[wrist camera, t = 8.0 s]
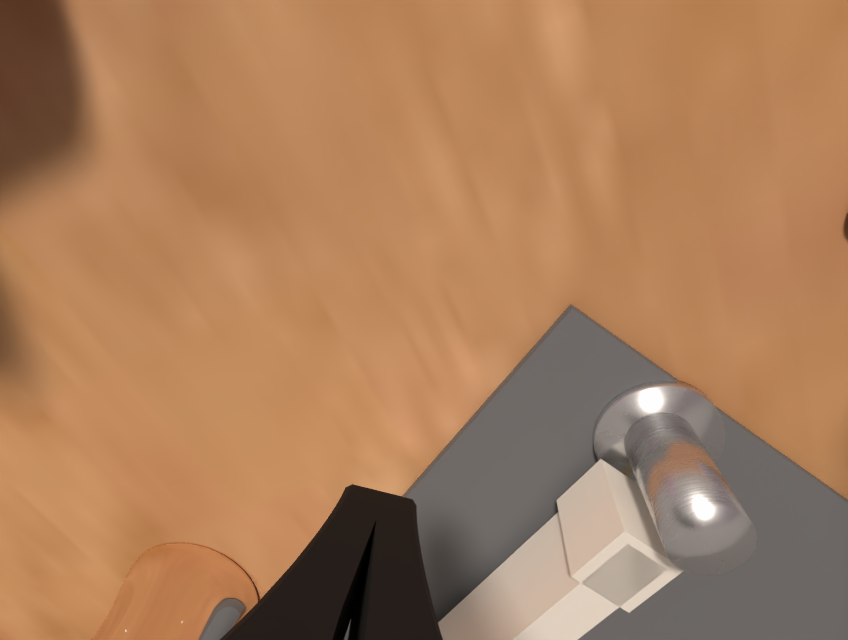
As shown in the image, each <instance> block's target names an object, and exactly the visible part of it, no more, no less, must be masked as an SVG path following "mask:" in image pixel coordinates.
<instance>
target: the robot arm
mask: <svg viewBox="0 0 848 640" xmlns="http://www.w3.org/2000/svg"><path fill="white" fill-rule="evenodd" d="M350 620H351V621H350ZM349 623H350V628H349V635H348V640H443V639H442V635H441V632H440V629H439V625H438V622H437V618H436V615H435V611H434V607H433V603H432V599H431V595H430V591H429V587H428V582H427V578H426V574H425V569H424V564H423V559H422V553H421V547H420V541H419V534H418V525H417V505H416V504H415V502H414V501H413V499H410V498H406V497H401V496H397V495H393V494H389V493H385V492H381V491H377V490H373V489H369V488H365V487H361V486H357V485H353V484H352V485H350V486H348V487H346V488H345V490H344V492H343V494H342V496H341V498H340V500H339V502H338V503H337V505H336V507H335V508H334V510H333V511H332V513H331V514H330V516H329V517H328V519H327V520H326V522H325V523H324V524H323V526H322V527H321V529H320V530H319V531H318V533H317V534H316V535H315V537H314V538H313V539H312V540H311V542H310V543H309V544H308V545H307V547H306V548H305V549H304V551H303V552H302V553H301V554H300V556H299V557H298V558H297V559H296V561H295V562H294V563H293V564H292V565H291V566H290V568H289V569H288V570H287V571H286V572H285V573H284V574H283V575H282V576H281V578H280V579H279V580H278V581H277V582H276V583H275V584H274V585H273V586H272V588H271V589H270V590H269V591H268V592H267V593H266V594H265V595H264V596H263V597H262V599H261V600H260V601H259V602H258V603H257V604H256V605H255V606H254V607H253V608H252V609H251V610H250V611H249V612H248V613H247V614H246V615H245V616H244V617H243V618H242V619H241V620H240V621H239V622H238V623H237V624H236V625H235V626H234V627H233V628H231V629H230V630H229V631H228V632H227V633H226V634H225V635H224V636H223V637H222V638H221V639H220V640H344V638H345V635H346V632H347V629H348V626H349Z"/></svg>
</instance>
